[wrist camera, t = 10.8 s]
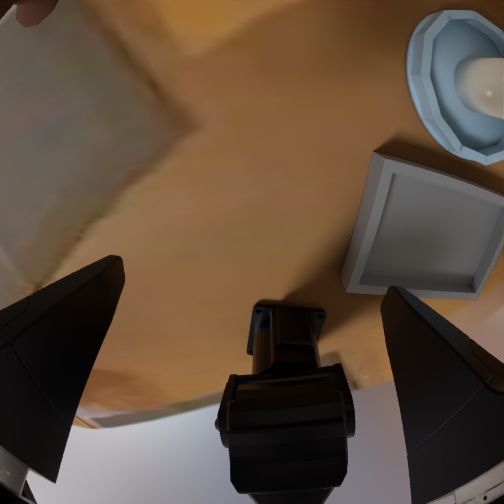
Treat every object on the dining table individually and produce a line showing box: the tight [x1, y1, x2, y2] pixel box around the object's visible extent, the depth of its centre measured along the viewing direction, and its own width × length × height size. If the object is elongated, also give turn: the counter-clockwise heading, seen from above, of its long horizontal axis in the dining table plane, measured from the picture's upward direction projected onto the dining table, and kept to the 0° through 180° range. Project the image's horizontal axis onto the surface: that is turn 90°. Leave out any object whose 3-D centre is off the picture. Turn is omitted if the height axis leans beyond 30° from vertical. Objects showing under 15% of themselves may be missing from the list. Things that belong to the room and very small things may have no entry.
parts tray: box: [340, 152, 504, 300], centre depth 20 cm, size 10×15×2 cm
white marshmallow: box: [454, 58, 504, 119], centre depth 12 cm, size 4×4×4 cm
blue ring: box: [405, 10, 504, 165], centre depth 13 cm, size 12×12×2 cm
